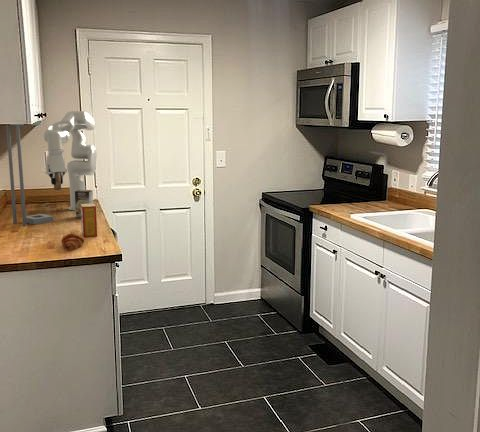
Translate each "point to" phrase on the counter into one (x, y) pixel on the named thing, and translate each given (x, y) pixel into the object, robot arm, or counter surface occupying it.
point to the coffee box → (82, 199)
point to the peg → (57, 181)
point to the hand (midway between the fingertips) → (57, 183)
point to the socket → (39, 219)
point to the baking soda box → (88, 220)
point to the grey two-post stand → (19, 172)
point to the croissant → (72, 241)
